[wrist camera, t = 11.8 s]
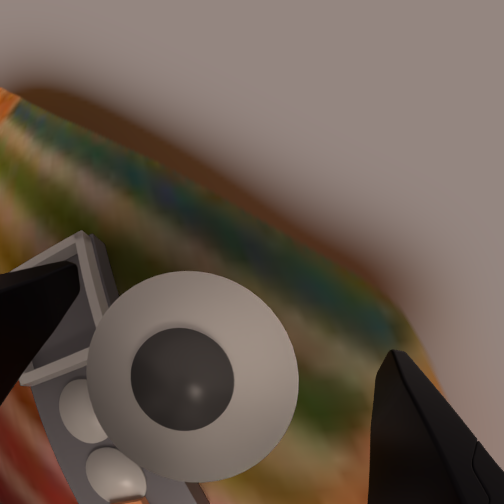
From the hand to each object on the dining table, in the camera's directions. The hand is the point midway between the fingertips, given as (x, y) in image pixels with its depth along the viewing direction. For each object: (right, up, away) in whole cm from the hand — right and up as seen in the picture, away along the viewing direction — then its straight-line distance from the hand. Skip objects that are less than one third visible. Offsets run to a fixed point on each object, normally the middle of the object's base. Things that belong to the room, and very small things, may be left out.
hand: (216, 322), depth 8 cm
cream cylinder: (0, -4, +6) cm, 7 cm away
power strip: (-7, -5, +6) cm, 11 cm away
